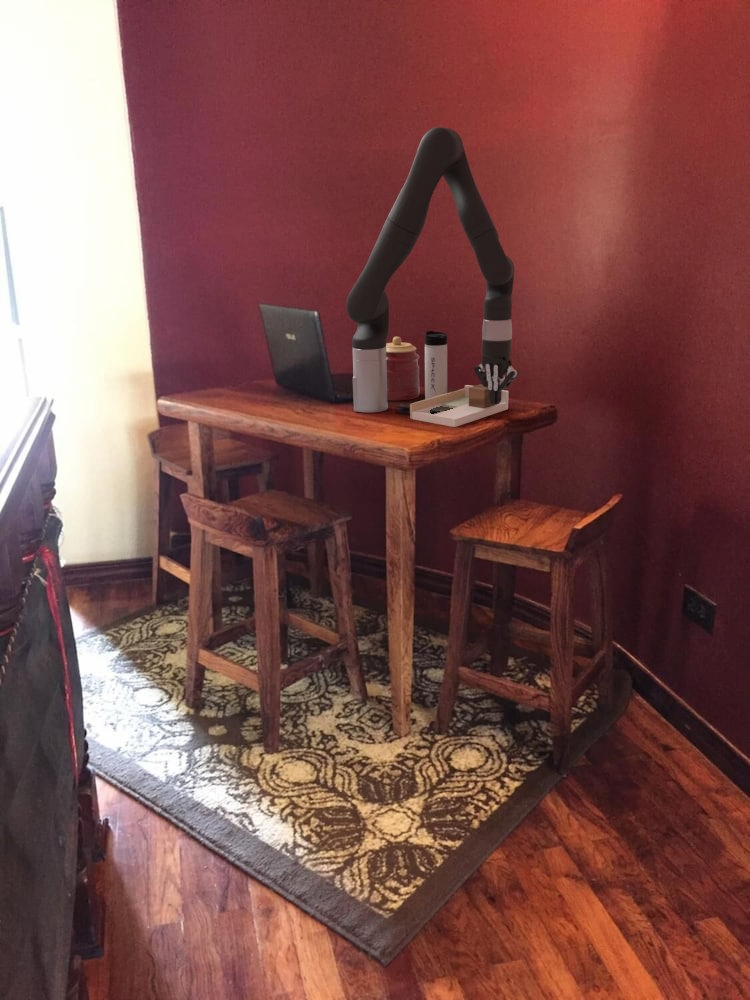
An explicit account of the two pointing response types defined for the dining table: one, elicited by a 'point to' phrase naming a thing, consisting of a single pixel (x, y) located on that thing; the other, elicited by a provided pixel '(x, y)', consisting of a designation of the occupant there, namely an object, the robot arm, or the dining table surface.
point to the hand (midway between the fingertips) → (495, 403)
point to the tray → (454, 408)
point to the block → (479, 396)
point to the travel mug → (435, 364)
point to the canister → (402, 371)
